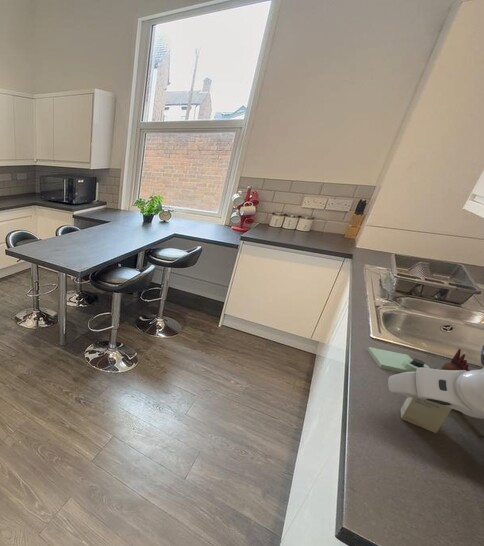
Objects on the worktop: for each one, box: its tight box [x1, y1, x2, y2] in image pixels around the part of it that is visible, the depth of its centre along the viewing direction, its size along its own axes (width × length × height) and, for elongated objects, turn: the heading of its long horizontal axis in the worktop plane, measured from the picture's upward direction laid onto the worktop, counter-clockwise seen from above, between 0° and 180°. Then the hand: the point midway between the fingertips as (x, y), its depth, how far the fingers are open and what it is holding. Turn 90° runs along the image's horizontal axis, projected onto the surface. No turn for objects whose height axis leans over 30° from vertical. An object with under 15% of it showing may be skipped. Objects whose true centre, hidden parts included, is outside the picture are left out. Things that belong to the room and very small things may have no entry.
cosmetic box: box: [400, 397, 453, 434], centre depth 74 cm, size 6×4×12 cm
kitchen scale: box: [367, 346, 430, 373], centre depth 96 cm, size 11×11×3 cm
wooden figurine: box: [441, 348, 471, 371], centre depth 80 cm, size 7×6×15 cm
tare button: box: [411, 358, 426, 368], centre depth 92 cm, size 2×2×2 cm
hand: (429, 399), depth 74 cm, fingers open, 8 cm apart
